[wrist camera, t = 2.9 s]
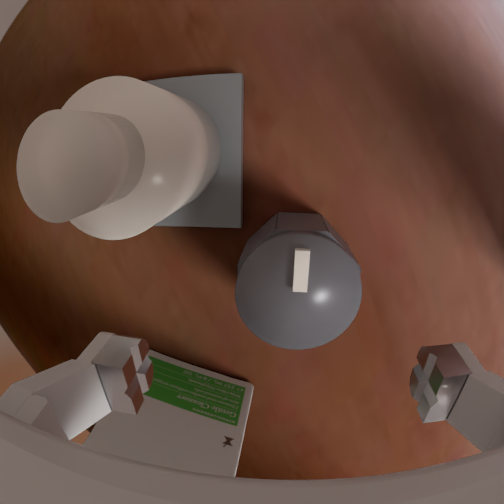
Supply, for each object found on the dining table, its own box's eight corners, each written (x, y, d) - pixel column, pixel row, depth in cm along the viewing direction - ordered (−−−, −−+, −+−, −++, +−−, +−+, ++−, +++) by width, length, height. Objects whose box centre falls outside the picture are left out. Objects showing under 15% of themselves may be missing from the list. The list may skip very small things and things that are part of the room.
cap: (339, 307, 18) (352, 354, 14) (246, 303, 19) (234, 349, 15) (350, 215, 17) (371, 240, 12) (247, 210, 17) (233, 234, 13)
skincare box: (256, 381, 21) (218, 604, 6) (233, 435, 23) (196, 608, 8) (141, 344, 21) (24, 529, 6) (136, 403, 23) (56, 557, 9)
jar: (242, 224, 17) (193, 314, 8) (112, 221, 18) (-4, 286, 9) (244, 76, 15) (191, -2, 6) (108, 90, 16) (-21, 69, 6)
